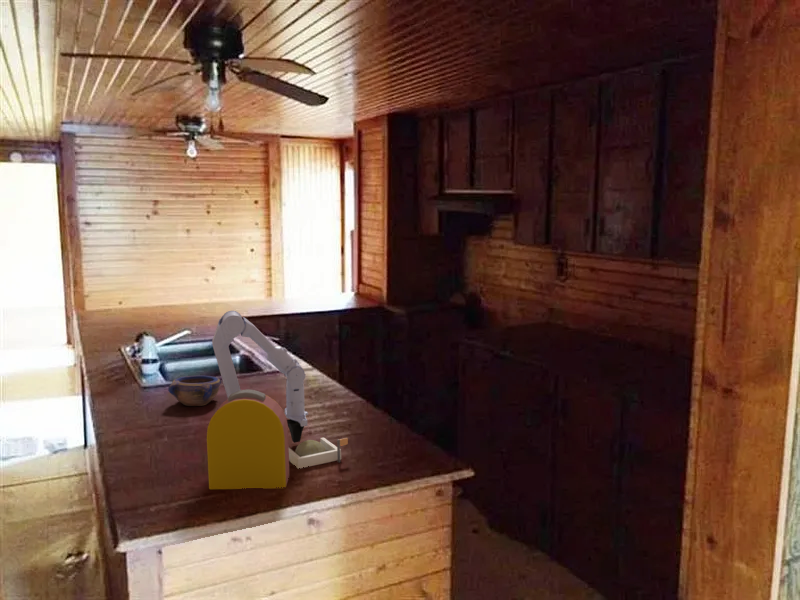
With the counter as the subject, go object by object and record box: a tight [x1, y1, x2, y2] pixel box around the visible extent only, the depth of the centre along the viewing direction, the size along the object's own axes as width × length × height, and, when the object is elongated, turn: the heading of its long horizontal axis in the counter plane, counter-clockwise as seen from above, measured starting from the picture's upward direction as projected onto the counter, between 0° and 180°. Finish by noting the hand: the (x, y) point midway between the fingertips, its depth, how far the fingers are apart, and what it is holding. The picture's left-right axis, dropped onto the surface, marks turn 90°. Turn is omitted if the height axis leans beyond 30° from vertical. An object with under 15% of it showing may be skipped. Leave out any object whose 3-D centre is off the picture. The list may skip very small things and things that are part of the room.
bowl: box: [167, 375, 222, 407], centre depth 261 cm, size 18×18×10 cm
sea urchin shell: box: [294, 439, 326, 457], centre depth 207 cm, size 9×8×8 cm
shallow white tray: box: [289, 437, 349, 470], centre depth 206 cm, size 16×14×7 cm
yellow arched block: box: [206, 388, 290, 490], centre depth 187 cm, size 21×9×26 cm, turn 92°
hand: (296, 441), depth 217 cm, fingers closed
